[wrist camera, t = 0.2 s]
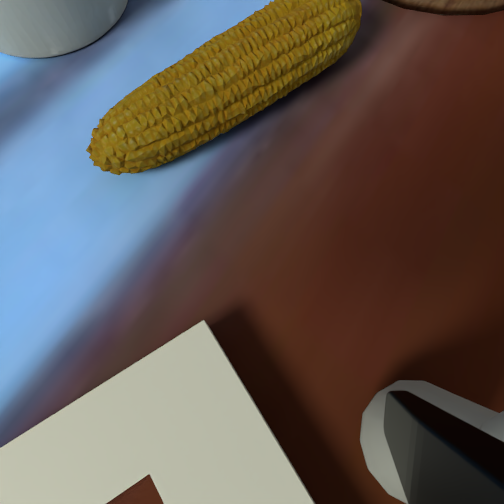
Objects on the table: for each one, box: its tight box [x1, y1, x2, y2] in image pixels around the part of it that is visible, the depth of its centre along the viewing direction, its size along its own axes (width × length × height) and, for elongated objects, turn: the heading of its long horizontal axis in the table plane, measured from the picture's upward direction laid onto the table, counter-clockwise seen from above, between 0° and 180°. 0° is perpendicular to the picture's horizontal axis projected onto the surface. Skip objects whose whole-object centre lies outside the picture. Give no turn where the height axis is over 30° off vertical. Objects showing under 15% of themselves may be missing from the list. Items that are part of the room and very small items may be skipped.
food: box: [86, 0, 362, 175], centre depth 26 cm, size 21×6×6 cm, turn 128°
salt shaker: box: [360, 380, 504, 504], centre depth 15 cm, size 6×6×13 cm
